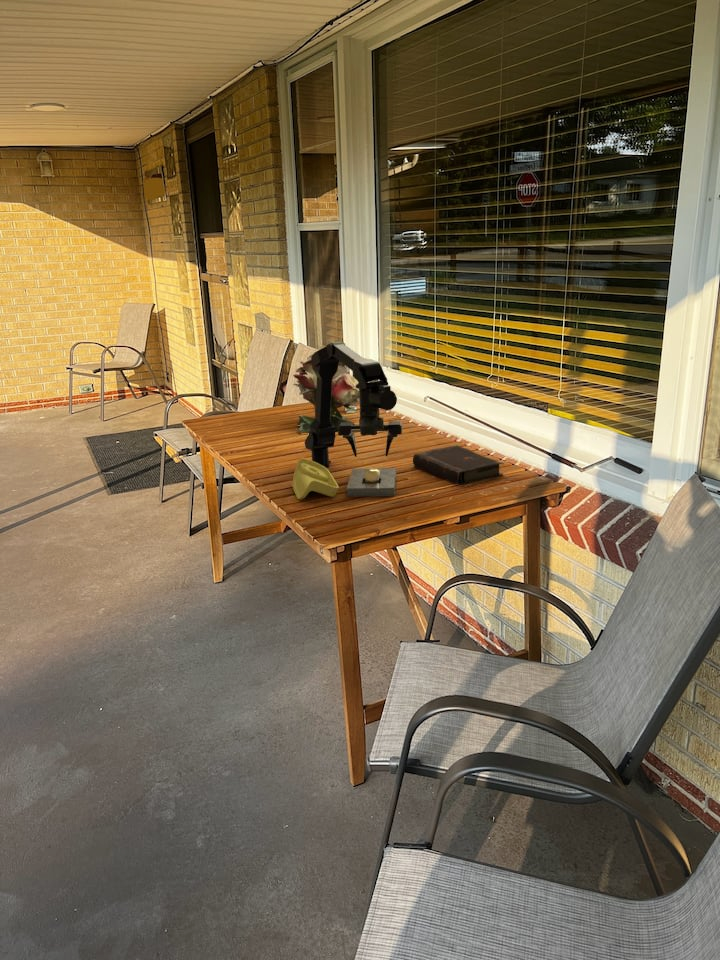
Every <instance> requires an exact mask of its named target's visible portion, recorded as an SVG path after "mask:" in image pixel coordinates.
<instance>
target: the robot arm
mask: <svg viewBox="0 0 720 960" xmlns="http://www.w3.org/2000/svg"><path fill="white" fill-rule="evenodd" d="M311 355H312V358H311V362H312V369H313V371H314V373H315V374H316V376H317V388H316V413H315V412H314V417H315V420H314V421H313V423H312V424H311V426H310V431H309V435H307V436H306V438H305V440H304V446H305V449H307V450H310V451H311V461H314V462H316V463H318V464H320V465H322V466H324V467H325V468H330V467H331V466H330V465H331V464H332V461H331V460H330V457H329V456H330V455H329V454H330V453H329V448H333V447H334V446H335V440H336V432H337V436H340V437H341V436H342V438H343V439H346V440H347V442H348V443H349V445H350V447H351V451H352V453H353V455H354V457H355V458H357V457H358V456H357V454H358V453H357V452H358V451H357V443H356V436H355V432H357V433H358V432H359V433H360V435H361V436H376V435H378V432H387V436H386V447H385V457H388V455H389V452H390V448H391V444H392V442H393V440H394V438H397V437H398V435H402V433H403V422H402V421H400V420H396V421H392V420H391V421H388V424H384V421H385V420H384V417H380V409H381V410H384V411H391V410H394V408H395V406H396V405H397V401H398V397H397V395H396V393H395V391H393V390H391V389H392V387H391V385H389V382H388V378H387V376H386V374H385V372H384V369H383V366H382V365H381V363H380V362H379V361H377V360H374V359H372V358H365V357H363V356H361V355H360V354H358V353H357V352H356V351H354V350H353V349H352V348H350V347H349V346H347V345H346V343H345V342H344V341H335V342H329V343H328V344H326V346H324V347H322V348H320V349H318V350H317V351H315V352H314V353H312V354H311ZM340 363H341V364H343V365H344V366H345V367H347V368H348V369H349V370H351V371H352V376H353V377H354V378H355V379H356V381H357V382H359V383H358V384H357V385H356V388H358V389H359V401H360V404H359V422H358V423H359V424H358V425H356V424H354V425H353V423H354V422H353V421H351V422H341V423H340V424H339V426H338V431H336V428H335V426H333V424H332V423H331V421H330V413H331V393H332V378H334V376H335V375H336V374H337V373H338V369H339V364H340ZM352 422H353V423H352Z"/></svg>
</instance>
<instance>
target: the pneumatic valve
mask: <svg viewBox="0 0 720 960" xmlns="http://www.w3.org/2000/svg"><path fill="white" fill-rule="evenodd" d="M358 401H359V398H358ZM343 407H344V406H343ZM349 407H350V408H352V409H350V410H349V409H348V408H346V407H344V408H343V410H344V413H346V414H348V413H350V414H356V412H357V410H358V408H357V405H356V406H352V405H350V406H349ZM353 409H354V410H355V411H354V410H353Z"/></svg>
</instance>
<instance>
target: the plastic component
mask: <svg viewBox="0 0 720 960" xmlns="http://www.w3.org/2000/svg"><path fill="white" fill-rule="evenodd" d="M292 478H293V479H292V490H293V492H294V494H295V496H296V499H298V500H299V501H300V500H305V498H306V497H307V496H308V494H309V493H310V492H315V493H318V494H322V495H324V496H327V497H330V498H333V497H336V495H337V492H338V489H339V488H340V486H339V485H338V483H337V481H336V480H335V478H334V476H333V474H332V473H331V472H330V470H329V469H328V467H324V466H322V465H320V464H318V463H316V462H314V461H312V459H307V458H306V457H301V458H299V460H298V461H297V464H296V467H295V469H294V473H293V477H292Z"/></svg>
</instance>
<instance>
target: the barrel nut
mask: <svg viewBox="0 0 720 960" xmlns="http://www.w3.org/2000/svg"><path fill="white" fill-rule="evenodd" d="M364 469H365V484H379V483H378V469H376V467H370V468H369V467H367V468H364Z"/></svg>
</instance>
